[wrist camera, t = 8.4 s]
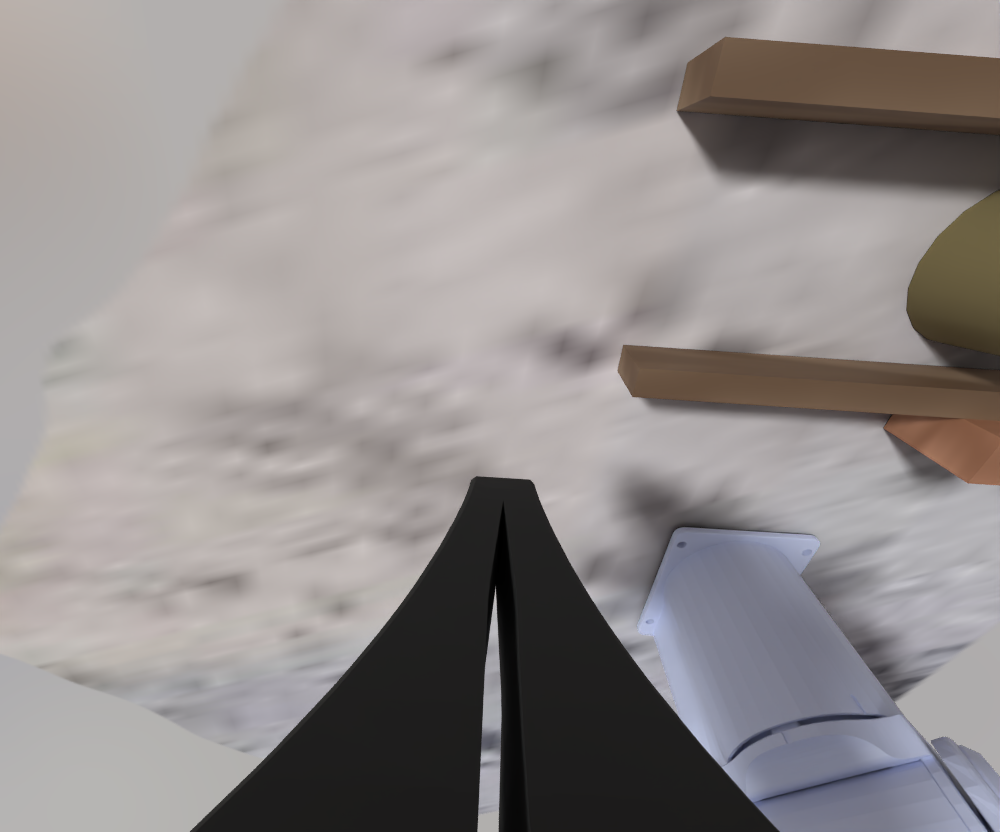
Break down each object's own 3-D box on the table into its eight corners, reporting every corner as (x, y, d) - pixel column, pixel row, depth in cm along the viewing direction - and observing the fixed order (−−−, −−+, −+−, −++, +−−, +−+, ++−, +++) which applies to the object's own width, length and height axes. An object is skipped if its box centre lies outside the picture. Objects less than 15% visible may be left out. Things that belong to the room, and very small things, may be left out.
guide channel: (1050, 439, 19) (1171, 496, 15) (608, 410, 19) (631, 461, 15) (1420, 28, 12) (1803, -38, 8) (708, -29, 11) (794, -122, 8)
